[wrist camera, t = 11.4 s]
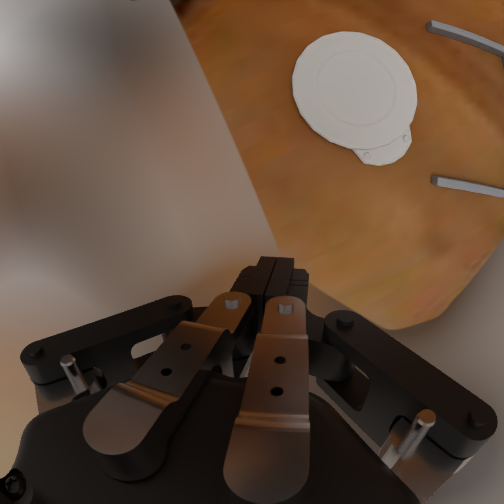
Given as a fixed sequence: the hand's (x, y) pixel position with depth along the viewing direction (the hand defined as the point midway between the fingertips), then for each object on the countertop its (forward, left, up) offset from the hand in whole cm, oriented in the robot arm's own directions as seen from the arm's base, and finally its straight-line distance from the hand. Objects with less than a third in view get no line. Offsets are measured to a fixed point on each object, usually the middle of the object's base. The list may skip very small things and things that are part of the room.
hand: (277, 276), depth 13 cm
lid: (-12, +7, -30) cm, 34 cm away
